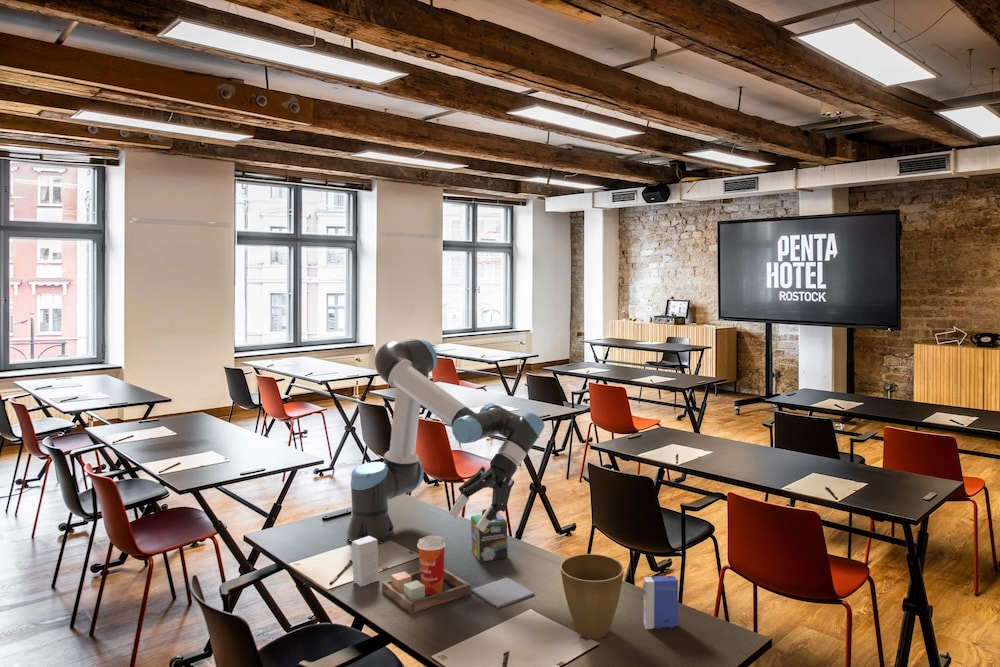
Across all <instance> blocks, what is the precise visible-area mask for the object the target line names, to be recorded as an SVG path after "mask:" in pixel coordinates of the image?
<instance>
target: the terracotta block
mask: <svg viewBox="0 0 1000 667" xmlns="http://www.w3.org/2000/svg"><path fill="white" fill-rule="evenodd" d="M409 574H410V573H408V572H407V571H405V570H404V571H400V572H397V573H394V574H391V575H390V580H391V586H392V587H394V588H395V589H396V590H398V591H399V592H400V593H402V594H403V595H404V584H406V583H409V582H412V576H410V575H409Z"/></svg>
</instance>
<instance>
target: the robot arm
mask: <svg viewBox="0 0 1000 667" xmlns="http://www.w3.org/2000/svg"><path fill="white" fill-rule="evenodd" d="M437 364H438V356H437V351H436V348H434V346H433V344H432V343H431V342H430V341H428V340H426V339H423V338H410V339H403V340H397V341H396V340H395V341H394V340H393V341H389V342H386V343H384V344H383V345H381V346H380V347H379V349H378V350H377V351H376V354H375V356H374V366H375V370H376V371H377V374H378V375H379V376H380V378H381V379H382V380H383V381H384V382H386V383H387V384H388V386H389V385H390V387H393V388H395V397H394V398H395V399H394V406H393V414H392V415H393V416H392V425H391V433H390V443H389V450H388V451H386V452H385V453H384V457H383V462H381V461H370V462H365V463H363V464H360V465H358V466H356V467H355V468H353V470H352V472H351V474H350V475H351V480H350V492H351V517H350V521H349V524H348V528H347V532H346V533H347V534H346V536H347V537H348V539H349V540H351V541H355V540H358V539H361V538H364V537H367V536H371V537H373V538H375V539H377V540H378V543H379V544H381V543H380V542H383V543H385V542H384V541H386V542H388V541H390V540H392V539H393V538H394V537H395V528H394V523H393V522H392V521H393V520H392V519H391V515H390V513H389V500H392V499H394V498H397V497H399V496H402V495H407V494H409V493H411V492H413V491H414V490H417V489H418V488H419V487H420V486H421V484H422V482H423V479H424V473H425V472H424V467H422V462H421V461H420V460H419V458H420V457H419V455H418V454H417V453H416V446H417V438H418V427H419V419H420V410H421V406H422V407H424V408H425V409H426V410H428V411H429V412H430V413H432V414H433V415H435V417H437V418H439V419H440V420H441V421H442V422H444V423H445V425H448V426H449V427H451V432H452V436H454V439H455V440H456V441H457V442H458V443H460V444H469V443H471V444H472V443H476V442H477V441H479V440H482V439H485V438H489V437H492V436H494V435H500V436H502V437H504V438H505V440H504V441H503V443H502V444H501V446H500V447H499V449H498V450H497V453H495V455H494V456H493V458H492V459H491V460H490V463H489V465H490V467H489V469H486V468H485V467H484V466H481V467H480V469H479V470H477V471H476V473H475V474H473V475H472V476H471V477H470V478H469V479H468V480H467V481H465V482H464V483H463V484H461V485H460V486H459V487H458V491H459V492H460V495H459V496H458V498H457V499H456V500H455V502H454V504H453V506H452V507H451V509H450V510H449V511H448V514H450V515H451V516H452V517H453V518H454V519H457V517H459V514H460V513H461V511H462V510H463V509H464V508H465V506H466V504H467V503H468V501H469V500H470V497H471V496H473V495H474V494H476V493H478V492H480V491H481V490H482V489H487V488H489V489H492V498H491V504H490V505H488V507H487V508H486V509H487V510H486V511H485V513H484V514H483V516H482V517H481V519H480V520H479V522H478V523H477V525H476V527H477V528H478V529H479V530H481V531H482V532H483V531H484V530H485V528H486V527H487V525H488V524H489V522H490V521H492V520H493V518H494V516H495V515H496V513H497V512H498V513H499V512H505V511H506V510H507V506H508V502H509V498H510V494H511V491H512V487H513V485H514V484H515V480H514V479H512V478H513V476H514V474H515V473H517V472H516V471H517V470H518V467H520V465H521V464H522V463H523V461H524V459H525V458H526V456H527V455H528V453H529V452H530V450H531V448H532V447H533V446H534V444H535V443H536V441H537V440H538V439H539V438H540V435H541V434H542V432H543V431H544V429H545V422H544V421H543V419H542V418H541V417H540V416H539V415H537V414H536V413H534V412H531V411H524V412H523V413H522V415H521V416H520V415H518V414H516V413H514V412H512V411H510V410H508V409H506V408H504V407H502V406H501V405H498V404H496V403H492V402H488V403H485V404H484V406H482V407H481V409H480V410H479V412H474V411H473V410H471V409H470V408H469V407H468V406H466V405H465V404H464V403H462V402H461V401H460V400H459V399H456V397H454V396H453V395H451V394H450V393H449V392H447V391H445V390H444V389H443V388H442V387H441V386H439V385H437V384H436V383H435V382H434V381H432V380H431V379H429V374H430V373H431V372H433V370H435V368H436V367H437ZM393 536H394V537H393ZM392 537H393V538H392ZM391 538H392V539H391ZM348 539H347V540H348ZM387 540H388V541H387Z"/></svg>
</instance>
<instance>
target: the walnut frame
mask: <svg viewBox="0 0 1000 667" xmlns="http://www.w3.org/2000/svg"><path fill="white" fill-rule="evenodd" d="M408 574H409V575H410V576H412V582H413V581H416V580H418V581H419V582H421V574H420V570H418V571H415V572H411V573H408ZM443 581H446V583H449V584H451V586H453V587H452V588H451V589H447V590H444V591H443V590H442V592H440V593H437V594H434V595H428V596H425V598H422V599H419V600H416V601H413V602H412V601H411V600H410V599H408V598H407V597H406V596H404V595H403V594H402V593H400V592H399V591H398V590H396V589H395V588H394V587H392V586H391V579H388V580H384V581H382V582H381V591H382V592H383V593H384V594H385V595H387V596H388V597H389V598H391V600H393V601H394V602H396V604H398V605H399V606H400V607H402V608H403V609H404V610H406V611H407V612H408V613H409V614H411V615H412V614H415V613H418V612H421V611H424V610H426V609H429V608H433V607H436V606H438V604H439V605H441V603H442V604H444V603H447V602H450V601H453V600H456V599H459V598H462V597H465V596H468V595H470V594H471V584H470V583H468V582H467V581H465V580H463V579H462V578H460V577H458V575H456V574H454V573H453V572H451V571H450V570H448V569H446V568H445V567H444V573H443ZM435 605H436V606H435ZM432 606H433V607H432Z"/></svg>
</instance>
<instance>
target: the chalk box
mask: <svg viewBox="0 0 1000 667" xmlns="http://www.w3.org/2000/svg"><path fill="white" fill-rule="evenodd" d="M486 510H487V508H485V509H482V511H481V514H477V515H476V514H475V515H471V516H470V527H471V528H470V530H471V531H470V532H471V537H470V538H471V552H472V553H473V555H474V556H475V558H476V559H477V560H478V561H479V563H482V562H489V561H496V560H504V558H505V559H508V555H509V554H508V521H507V520H506V519H505V518H504V517H503V515H502V514H500V513H499V512H497V513H496V515H495V516H494V518H493V520H492V521H490V522H489V524H488V525H487V527H486V528H485V530H484V531H483V532H482V531H481V530H479V529H478V528H477V527H476V525H477V523H478V522H479V520H480V519H481V517H482V516H483V514H484V513H485V511H486Z"/></svg>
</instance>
